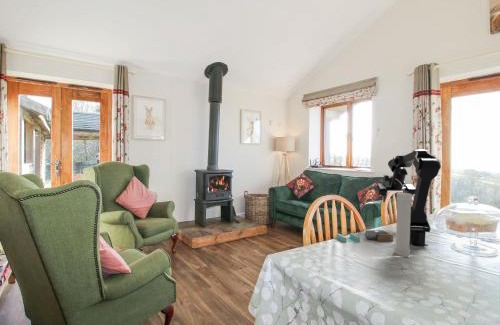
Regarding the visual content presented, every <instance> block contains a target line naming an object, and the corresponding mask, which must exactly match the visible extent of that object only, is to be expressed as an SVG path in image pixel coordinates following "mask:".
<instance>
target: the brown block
mask: <svg viewBox="0 0 500 325" xmlns="http://www.w3.org/2000/svg"><path fill="white" fill-rule="evenodd" d="M384 231H385V233H386V234H377V239H373V240H375V241H377V242H380V243H381V242H394V234H393V233H390V232H389V231H386V230H384Z"/></svg>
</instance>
